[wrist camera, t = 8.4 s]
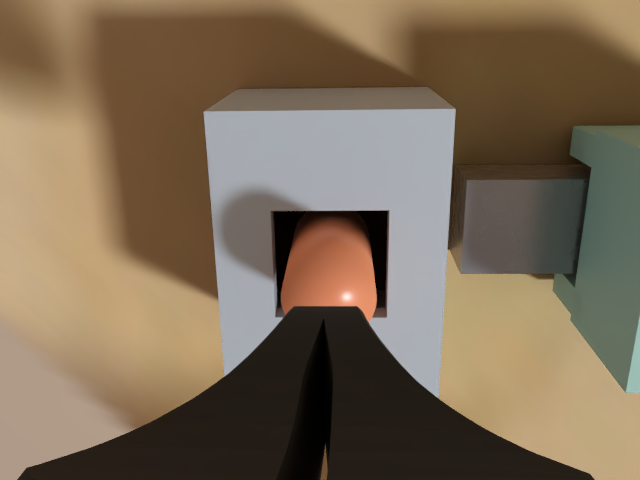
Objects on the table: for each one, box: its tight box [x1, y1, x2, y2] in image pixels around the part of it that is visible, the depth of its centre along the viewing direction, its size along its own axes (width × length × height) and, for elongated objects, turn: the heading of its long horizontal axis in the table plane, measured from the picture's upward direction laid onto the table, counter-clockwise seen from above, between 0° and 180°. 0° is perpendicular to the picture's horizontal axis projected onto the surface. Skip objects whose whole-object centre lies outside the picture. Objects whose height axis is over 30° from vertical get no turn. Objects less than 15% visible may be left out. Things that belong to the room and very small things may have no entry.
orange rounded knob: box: [281, 211, 377, 322], centre depth 16 cm, size 2×2×4 cm
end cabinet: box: [204, 87, 456, 398], centre depth 18 cm, size 8×6×5 cm
